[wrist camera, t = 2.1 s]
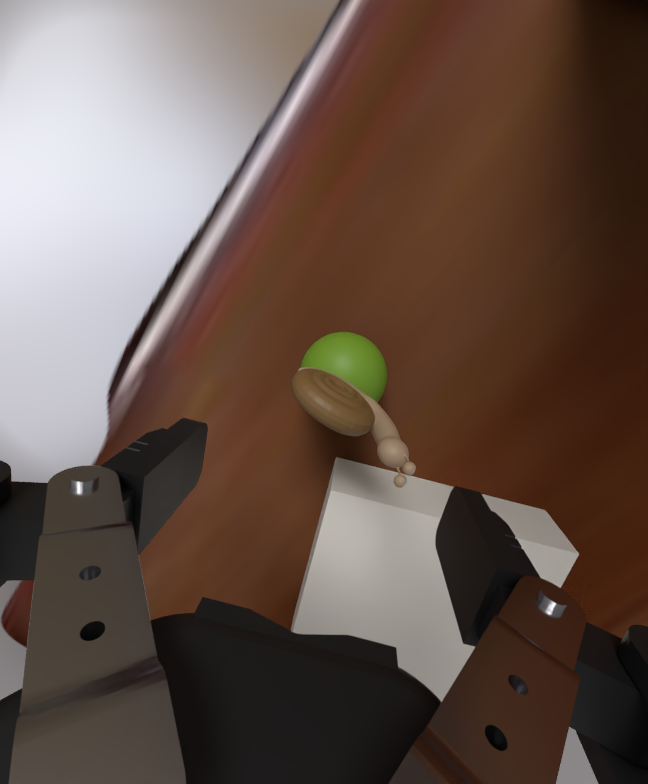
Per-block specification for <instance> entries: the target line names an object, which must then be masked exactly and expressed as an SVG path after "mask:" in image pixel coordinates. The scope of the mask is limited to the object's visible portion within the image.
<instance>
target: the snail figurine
mask: <svg viewBox="0 0 648 784" xmlns="http://www.w3.org/2000/svg"><path fill="white" fill-rule="evenodd" d="M386 383H387V369H386V364H385V361H384V358H383V356H382V354H381V353H380V351H379V350H378V348H377V347H376V346H375V345H374V344H373V343H372V342H371V341H369V340H368V339H366V338H365V337H363V336H361V335H358V334H355V333H350V332H337V333H332V334H329V335H326V336H324V337H322V338H321V339H319V340H318V341H316V342H315V343H314V344H313V345H312V346H311V347H310V348H309V350H308V351H307V352H306V354H305V356H304V358H303V361H302V364H301V368H300V369H299V370H298V372H297V373H296V374H295V375H294V377H293V379H292V382H291V388H292V392H293V395H294V397H295V399H296V400H297V402H298V403H299V405H300V406H301V407H302V408H303V409H304V410H305V411H306V412H307V413H308V414H309V415H310V416H311V417H313V418H314V419H315V420H317V421H318V422H320V423H321V424H323V425H324V426H326V427H328V428H329V429H331V430H334V431H336V432H338V433H341V434H344V435H348V436H361V435H364V434H366V433H367V432H369V431H370V430H371V433H372V436H373V438H374V440H375V442H376V444H377V445H378V448H377V453H378V456H379V458H380V460H381V461H382V462H383V463H384V464H385V465H386V466H388V467H392V468H396V469H397V470H398V473H399V474H398V475H396V476H395V477H394V484H395V485H396V486H397V487H399V488H402V487H403V486H404V485H405V484H406V482H407V479H406V477H405V476H404V475H402V474H400V470H399V467H402V466H403V472H404V473H405V474H406V475H412V474H413V473H414V472H415V470H416V466H415V464H414V463H412V462H409V452H408V448H407V446H406V445H405V444H404V443H403V442H402V441H401V440H400V437H399V433H398V431H397V429H396V427H395V425H394V423H393V422H392V420H391V419H390V418H389V416H388V415H387V414H386V412H385V411H384V410H383V409H382V408H381V406H380V405H379V404H378V402H379V400H380V399H381V397H382V395H383V393H384V390H385V387H386Z"/></svg>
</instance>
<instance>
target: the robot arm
mask: <svg viewBox="0 0 648 784" xmlns="http://www.w3.org/2000/svg"><path fill="white" fill-rule="evenodd" d="M647 1H648V0H647ZM207 431H208V427H207V424H206V423H202V422H198V421H194V420H190V419H186V418H182V419H180V420H179V421H178V422H177V423H175V424H174V425H173V426H171V427H170V428H169V429H163V428H161V429H158V430H155V431H152V432H149V433H146V434H145V435H143V436H142V437H141V438H139V439H138V440H136V442H133V443H132V444H131V445H129V446H128V447H127V449H126V448H125V449H124V450H122V451H121V452H119V453H118V454H117V455H115V456H114V457H112V458H111V459H109V460H108V461H107V462H105V463H104V464H102V465H101V466H78V467H73V468H69V469H66V470H64V471H61V472H59V473H57V474H56V475H54V476H53V477H52V478H51V479H50V480H49V482H48V483H34V482H33V483H32V482H12V481H11V468H10V466H9V465H8V464H7V463H5V462H3V461H0V587H1V586H2V585H3V584H4V583H5V582H6V581H7V580H34V588H33V597H32V606H31V615H30V623H29V632H28V641H27V650H26V659H25V668H24V678H23V687H22V689H20V690H18V691H16V692H14V693H13V694H11V695H9V696H7V697H5V698H3V699H2V700H0V784H556V780H557V776H558V771H559V767H560V763H561V759H562V754H563V750H564V745H565V741H566V737H567V733H568V729H569V727H571V728H573V729H575V730H576V732H577V735H578V737H579V740H580V742H581V744H582V746H583V749H584V751H585V753H586V756H587V758H588V760H589V763H590V764H591V767H592V769H593V772H594V774H595V776H596V779H597V781H598V783H599V784H648V627H647V626H642V625H633V626H631V627H630V628H629V629H628V631H627V633H626V634H625V636H624V637H623V639H621V638H619V637H617V636H615V635H613V634H611V633H608V632H606V631H604V630H602V629H600V628H598V627H596V626H594V625H592V624H590V623H588V622H586V615H585V613H584V611H583V609H582V608H581V606H580V605H579V604H578V603H577V602H576V601H575V600H574V599H573V598H572V597H571V596H570V595H569V594H568V593H567V592H565V591H564V590H563V589H561V588H560V587H558V586H557V585H555V584H553V583H551V582H549V581H547V580H545V579H542V578H541V577H540V576H539V574H538V573H537V571H536V569H535V568H534V566H533V564H532V563H531V561H530V559H529V558H528V556H527V554H526V553H525V551H524V550H523V549H521V547H522V546H521V545H520V543H519V541H518V540H517V539H515V535H514V533H513V532H512V530H511V528H510V527H509V525H508V524H507V523H506V522H505V521H504V520H503V519H502V518H501V517H500V516H499V515H498V514H497V513H495V512H493V511H491V510H490V508H489V506H488V504H487V503H486V501H485V499H484V497H483V496H482V494H481V493H480V492H477V491H473V490H469V489H465V488H461V487H457V486H456V487H454V488H453V489H452V491H451V493H450V495H449V498H448V501H447V503H446V506H445V509H444V511H443V514H442V516H441V519H440V522H439V524H438V527H437V531H436V537H435V545H436V550H437V554H438V557H439V561H440V564H441V568H442V571H443V575H444V578H445V582H446V585H447V589H448V592H449V596H450V600H451V603H452V607H453V610H454V614H455V617H456V621H457V624H458V628H459V631H460V635H461V638H462V642H463V644H466V645H470V646H474V647H475V648H474V650H473V652H472V653H471V655H470V657H469V658H468V660H467V661H466V663H465V665H464V666H463V668H462V670H461V671H460V673H459V675H458V676H457V678H456V679H455V681H454V683H453V684H452V686H451V688H450V689H449V691H448V692H447V694H446V696H445V697H444V699H443V701H442V702H441V701H440V699H439V698H438V697H437V696H436V695H435V694H434V693H433V692H432V691H431V690H430V689H429V688H428V687H427V686H425V685H424V684H423V683H422V682H420V681H419V680H418V679H417V678H415V677H414V676H412V675H411V674H409V673H408V672H406V671H405V670H403V669H401V668H400V667H398V660H397V650H396V647H393V646H389V645H385V644H381V643H378V642H374V641H370V640H366V639H362V638H358V637H355V636H351V635H321V634H297V633H294V632H292V631H290V630H288V629H286V628H284V627H282V626H280V625H278V624H277V623H275V622H273V621H271V620H269V619H267V618H265V617H263V616H262V615H260V614H258V613H256V612H254V611H252V610H250V609H247V608H243V607H239V606H236V605H232V604H228V603H224V602H220V601H216V600H213V599H209V598H205V597H202V599H201V601H200V603H199V605H198V607H197V609H196V611H195V613H184V614H174V615H169V616H164V617H160V618H157V619H154V620H150V615H149V609H148V604H147V599H146V593H145V588H144V583H143V577H142V572H141V566H140V561H139V555H140V553H141V552H142V551H143V550H144V548H145V547H146V546H147V545H148V544H149V542H150V541H151V540H152V539H153V537H154V536H155V535H156V534H157V532H158V531H159V530H160V529H161V527H162V526H163V525H164V524H165V523H166V521H167V520H168V519H169V518H170V516H171V515H172V514H173V513H174V511H175V510H176V509H177V508H178V506H179V505H180V504H181V503H182V502H183V500H184V499H185V498H186V497H187V495H188V494H189V493H190V492H191V490H192V489H193V488H194V487H195V485H196V484H197V482H198V480H199V477H200V474H201V471H202V466H203V459H204V452H205V445H206V438H207Z"/></svg>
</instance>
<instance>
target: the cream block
mask: <svg viewBox="0 0 648 784" xmlns="http://www.w3.org/2000/svg"><path fill="white" fill-rule="evenodd" d="M398 474H399V473H397V472H393V471H389V470H385V469H381V468H378V467H374V466H370V465H366V464H362V463H358V462H354V461H350V460H346V459H342V458H338V457H336V459H335V462H334V466H333V470H332V474H331V477H330V481H329V485H328V489H327V492H326V496H325V500H324V504H323V507H322V511H321V515H320V519H319V522H318V526H317V530H316V534H315V537H314V541H313V545H312V549H311V552H310V556H309V560H308V564H307V567H306V571H305V575H304V579H303V582H302V586H301V590H300V594H299V597H298V601H297V605H296V609H295V612H294V617H293V621H292V626H291V631H292V632H294V633H297V634H321V635H351V636H355V637H358V638H362V639H366V640H370V641H374V642H378V643H381V644H385V645H389V646H393V647H396V650H397V660H398V667H400V668H401V669H403V670H405V671H406V672H408V673H409V674H411V675H412V676H414V677H415V678H417V679H418V680H419V681H420V682H422V683H423V684H424V685H425V686H427V687H428V688H429V689H430V690H431V691H432V692H433V693H434V694H435V695H436V696H437V697H438V698H439V699H440V701H441V702H442V701H443V699H444V697H445V696H446V694H447V692H448V691H449V689H450V688H451V686H452V684H453V683H454V681H455V679H456V678H457V676H458V675H459V673H460V671H461V670H462V668H463V666H464V665H465V663H466V661H467V660H468V658H469V657H470V655H471V653H472V652H473V650H474V648H475V647H474V646H470V645H466V644H463V642H462V638H461V635H460V631H459V628H458V624H457V621H456V617H455V614H454V610H453V607H452V603H451V600H450V596H449V592H448V589H447V585H446V582H445V578H444V575H443V571H442V568H441V564H440V561H439V557H438V554H437V550H436V545H435V537H436V531H437V527H438V524H439V522H440V519H441V516H442V514H443V511H444V509H445V506H446V503H447V501H448V498H449V495H450V493H451V491H452V489H453V488H454V487H452V486H448V485H444V484H440V483H436V482H433V481H429V480H425V479H421V478H417V477H413V476H409V475H405V474H402V475H404V476H405V477H406V479H407V482H406V484H405V485H404V486H403V487H402V488H399V487H397V486H396V485H395V484H394V477H395V476H396V475H398ZM400 474H401V473H400ZM482 496H483V497H484V499H485V501H486V503H487V504H488V506H489V508H490V510H491V511H493V512H495V513H497V514H498V515H499V516H500V517H501V518H502V519H503V520H504V521H505V522H506V523H507V524H508V525H509V527H510V528H511V530H512V532H513V533H514V535H515V539H517V540H518V541H519V543H520V545H521V546H522V547H521V549H523V550H524V551H525V553H526V554H527V556H528V558H529V559H530V561H531V563H532V564H533V566H534V568H535V569H536V571H537V573H538V574H539V576H540V577H541V578H542V579H545V580H547V581H549V582H551V583H553V584H555V585H557V586H558V587H560V588H561V586H562V584H563V583H564V581H565V579H566V577H567V575H568V573H569V572H570V570H571V568H572V566H573V564H574V563H575V561H576V559H577V557H578V555H579V553H578V552H577V551H576V549H575V548H574V547H573V545H572V544H571V543H570V541H569V540H568V539H567V538H566V536H565V535H564V534H563V532H562V531H561V530H560V529H559V527H558V526H557V525H556V523H555V522H554V521H553V519H552V518H551V517H550V516H549V514H548V513H547V512H546V510H543V509H539V508H535V507H531V506H527V505H523V504H519V503H515V502H511V501H507V500H503V499H499V498H495V497H491V496H488V495H484V494H482Z"/></svg>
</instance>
